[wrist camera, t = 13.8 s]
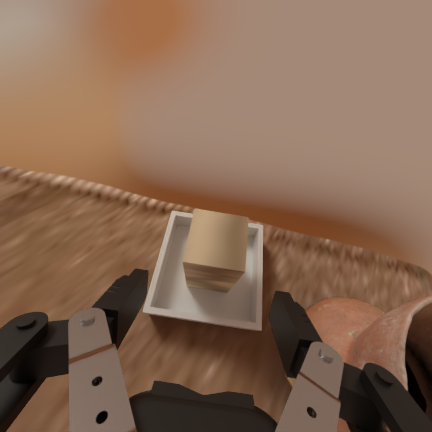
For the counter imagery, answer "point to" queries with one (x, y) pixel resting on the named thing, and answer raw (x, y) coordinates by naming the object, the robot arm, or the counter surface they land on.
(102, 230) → the counter surface
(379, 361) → the ceramic jug
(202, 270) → the block
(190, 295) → the tray
